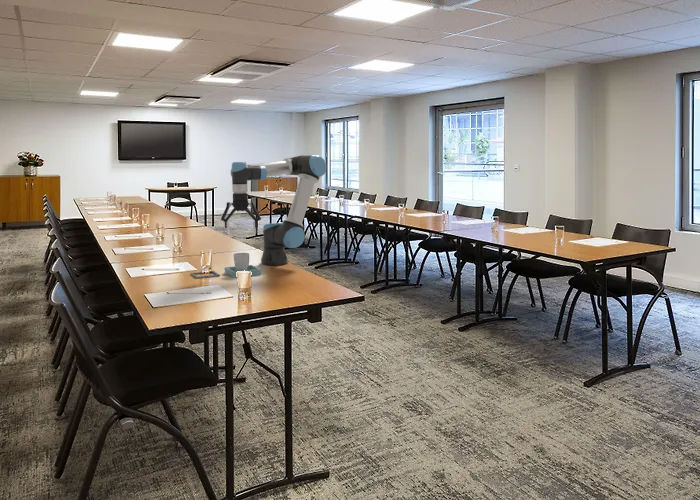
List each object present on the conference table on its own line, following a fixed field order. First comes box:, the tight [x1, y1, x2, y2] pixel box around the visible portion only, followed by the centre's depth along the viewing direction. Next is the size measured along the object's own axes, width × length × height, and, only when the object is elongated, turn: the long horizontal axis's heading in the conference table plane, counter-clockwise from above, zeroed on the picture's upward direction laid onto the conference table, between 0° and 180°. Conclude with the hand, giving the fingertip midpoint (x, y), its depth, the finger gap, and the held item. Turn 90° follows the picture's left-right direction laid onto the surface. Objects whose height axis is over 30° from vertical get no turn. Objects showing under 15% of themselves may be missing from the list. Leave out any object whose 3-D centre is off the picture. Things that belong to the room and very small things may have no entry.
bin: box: [224, 264, 262, 279], centre depth 302 cm, size 15×15×3 cm
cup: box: [233, 252, 250, 271], centre depth 302 cm, size 8×8×10 cm
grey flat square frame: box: [190, 270, 221, 279], centre depth 299 cm, size 12×12×1 cm
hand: (241, 234), depth 299 cm, fingers open, 13 cm apart
